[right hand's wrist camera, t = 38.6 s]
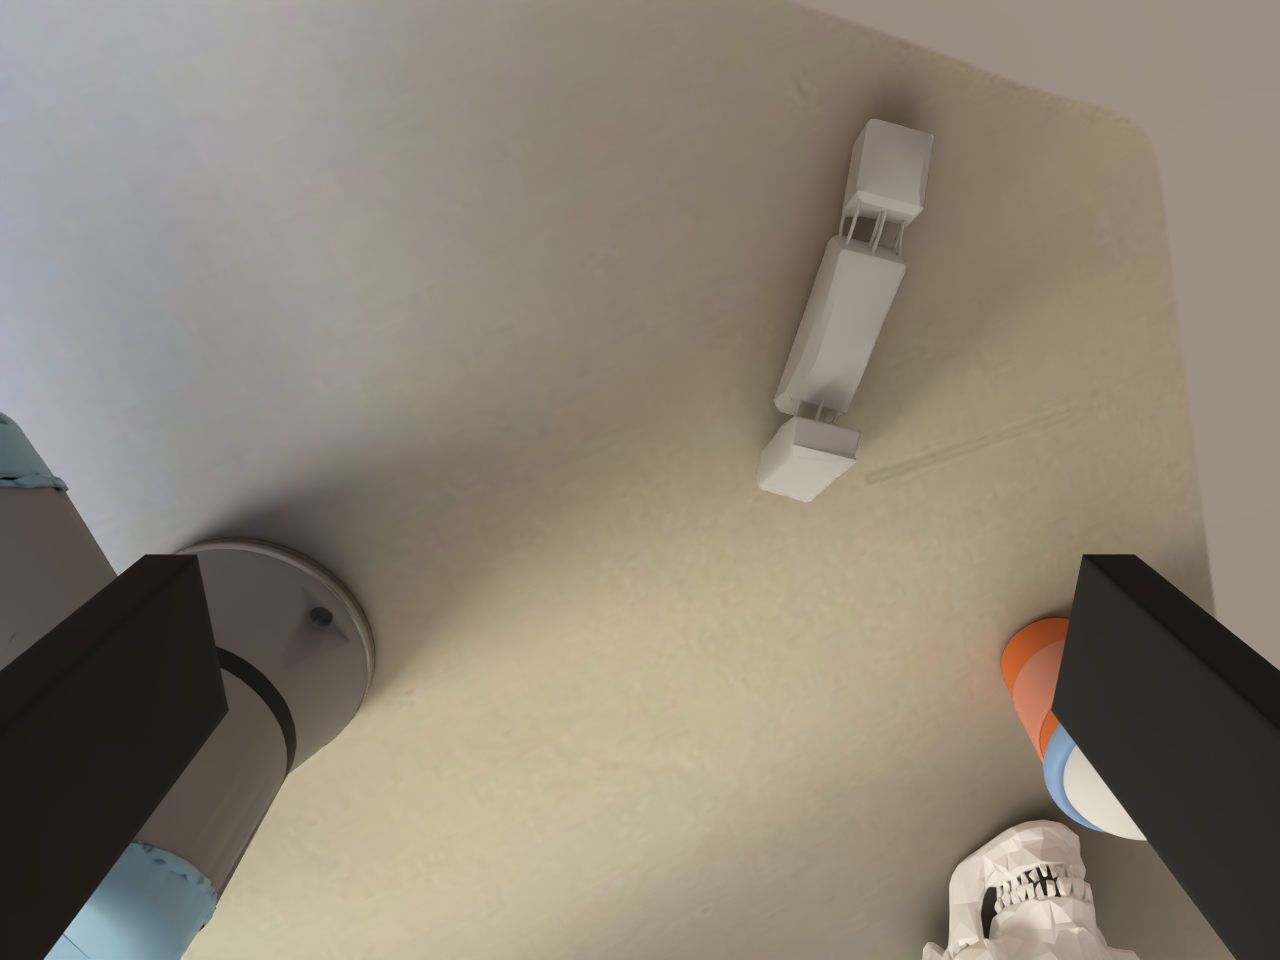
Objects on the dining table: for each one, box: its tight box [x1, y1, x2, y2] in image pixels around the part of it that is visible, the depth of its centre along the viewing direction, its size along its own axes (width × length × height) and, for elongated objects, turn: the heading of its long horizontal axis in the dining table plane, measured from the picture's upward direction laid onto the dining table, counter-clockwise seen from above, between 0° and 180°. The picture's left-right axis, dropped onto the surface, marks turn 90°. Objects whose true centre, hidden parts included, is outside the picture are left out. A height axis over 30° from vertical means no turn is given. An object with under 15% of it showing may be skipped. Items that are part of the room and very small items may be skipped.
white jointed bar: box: [756, 119, 934, 503], centre depth 44 cm, size 20×4×7 cm, turn 166°
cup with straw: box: [1001, 618, 1147, 840], centre depth 46 cm, size 9×9×18 cm
